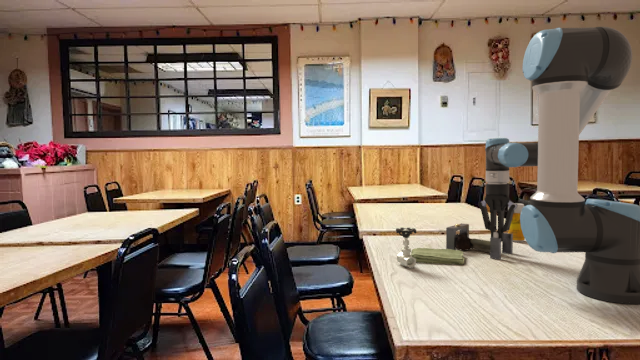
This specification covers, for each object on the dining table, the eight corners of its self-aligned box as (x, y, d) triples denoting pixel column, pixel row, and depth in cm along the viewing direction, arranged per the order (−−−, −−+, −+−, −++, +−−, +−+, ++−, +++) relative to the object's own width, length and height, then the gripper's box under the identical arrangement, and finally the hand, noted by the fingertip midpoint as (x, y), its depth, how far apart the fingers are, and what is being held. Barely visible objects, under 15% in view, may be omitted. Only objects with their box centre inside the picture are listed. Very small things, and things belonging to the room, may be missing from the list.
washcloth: (465, 267, 128) (465, 257, 128) (409, 263, 133) (409, 254, 133) (463, 257, 141) (463, 248, 141) (411, 254, 146) (411, 245, 146)
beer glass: (504, 240, 165) (504, 203, 164) (515, 238, 167) (515, 202, 166) (517, 243, 159) (517, 205, 158) (528, 241, 162) (528, 204, 161)
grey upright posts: (499, 259, 135) (499, 232, 134) (446, 251, 148) (446, 226, 148) (512, 253, 143) (512, 227, 143) (461, 245, 157) (461, 222, 156)
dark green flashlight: (499, 253, 144) (499, 237, 144) (490, 256, 140) (490, 240, 139) (453, 245, 157) (453, 231, 157) (444, 248, 153) (444, 233, 153)
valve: (401, 270, 125) (401, 231, 124) (392, 264, 131) (391, 228, 130) (420, 268, 127) (420, 230, 126) (410, 263, 133) (410, 226, 132)
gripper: (474, 183, 142) (474, 249, 143) (512, 184, 133) (512, 255, 134) (483, 181, 147) (483, 245, 148) (521, 183, 138) (520, 251, 139)
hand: (497, 250), depth 141 cm, fingers closed
